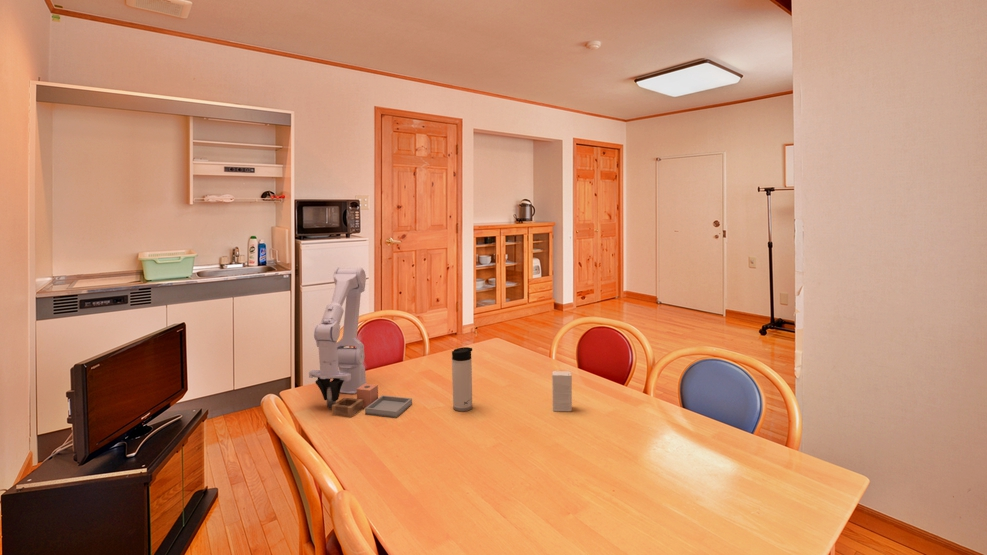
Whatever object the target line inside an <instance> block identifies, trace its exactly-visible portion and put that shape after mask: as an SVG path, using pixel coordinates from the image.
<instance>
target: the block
mask: <svg viewBox="0 0 987 555" xmlns="http://www.w3.org/2000/svg"><path fill="white" fill-rule="evenodd" d="M356 392H357V393H356V399H363V405H364V408H366V407H367V406H369V405H370V404H371V403H373V402H374V401H375V400H377V399H378V398H379V386H378V385H377V384H370V383H367V384H363V385H362V386H360V387H359V388H357V389H356Z"/></svg>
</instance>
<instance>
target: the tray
mask: <svg viewBox="0 0 987 555" xmlns="http://www.w3.org/2000/svg"><path fill="white" fill-rule="evenodd" d="M412 405H413V398H412V397H401V396H392V395H384V394H382V395H381V396H378V399H377V400H375V401H374V402H373V403H371V404H370V405H369V406H367V407H364V413H365V415H367V416H377V417H378V416H379V417H384V418H385V417H386V418H395V419H397V418H398V417H400V416H401V415H402V414H403V413H404V412H406V410H407V409H409V408H410V407H411V406H412Z"/></svg>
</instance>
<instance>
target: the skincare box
mask: <svg viewBox="0 0 987 555" xmlns="http://www.w3.org/2000/svg"><path fill="white" fill-rule="evenodd" d="M551 375H552V376H551V380H552V382H551V383H552V411H553V412H572V411H573V408H572V407H573V406H572V404H573V403H572V402H573V401H572V400H573V399H572V398H573V397H572V396H573V395H572V394H573V391H572V389H573V387H572V385H573V384H572V380H573V378H572V372H571V371H568V370H565V371H563V370H562V371H561V370H554V371H553V370H552V373H551Z"/></svg>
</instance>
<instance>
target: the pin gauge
mask: <svg viewBox="0 0 987 555" xmlns="http://www.w3.org/2000/svg"><path fill="white" fill-rule="evenodd" d="M326 395H327V400H326V405H327V406H326V408H327V409H332V405H334V404H335V403H337V401H333V399H332V390H331V387H330V385H328V386H326Z"/></svg>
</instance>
